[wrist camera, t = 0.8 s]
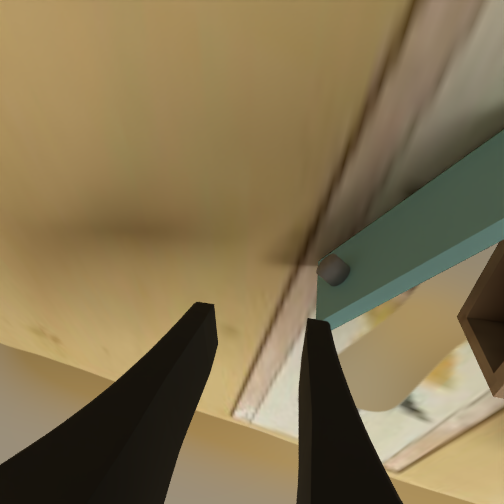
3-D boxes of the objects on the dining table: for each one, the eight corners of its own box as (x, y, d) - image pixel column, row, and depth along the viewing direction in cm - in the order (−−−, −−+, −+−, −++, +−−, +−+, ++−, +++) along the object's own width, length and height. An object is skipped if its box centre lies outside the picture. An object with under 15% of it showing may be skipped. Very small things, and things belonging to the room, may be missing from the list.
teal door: (587, 98, 12) (723, 132, 8) (329, 271, 19) (330, 335, 15) (562, 59, 12) (692, 73, 7) (306, 251, 19) (301, 312, 15)
